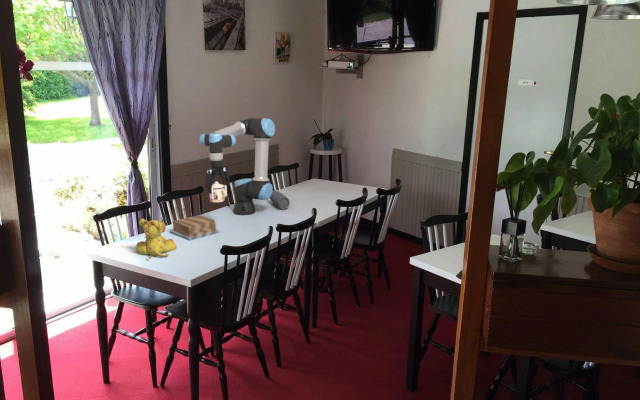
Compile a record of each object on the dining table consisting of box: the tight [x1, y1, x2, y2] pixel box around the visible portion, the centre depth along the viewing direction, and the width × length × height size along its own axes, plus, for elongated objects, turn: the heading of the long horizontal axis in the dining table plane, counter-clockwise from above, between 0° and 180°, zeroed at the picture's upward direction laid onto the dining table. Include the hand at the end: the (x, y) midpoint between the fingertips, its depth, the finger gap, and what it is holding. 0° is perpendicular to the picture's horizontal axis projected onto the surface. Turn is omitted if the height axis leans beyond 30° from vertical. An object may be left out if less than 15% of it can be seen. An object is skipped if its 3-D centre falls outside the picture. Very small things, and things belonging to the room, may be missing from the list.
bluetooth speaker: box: [269, 190, 291, 210], centre depth 373 cm, size 23×9×10 cm, turn 22°
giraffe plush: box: [135, 218, 178, 261], centre depth 277 cm, size 20×24×19 cm
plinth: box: [169, 214, 220, 242], centre depth 313 cm, size 21×21×8 cm
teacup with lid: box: [209, 181, 227, 203], centre depth 310 cm, size 12×9×12 cm
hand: (218, 197), depth 310 cm, fingers closed on teacup with lid, 9 cm apart
